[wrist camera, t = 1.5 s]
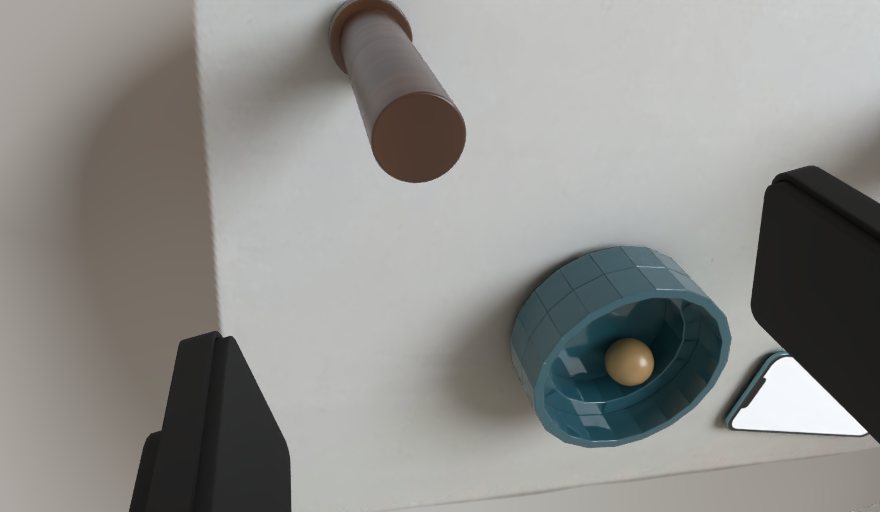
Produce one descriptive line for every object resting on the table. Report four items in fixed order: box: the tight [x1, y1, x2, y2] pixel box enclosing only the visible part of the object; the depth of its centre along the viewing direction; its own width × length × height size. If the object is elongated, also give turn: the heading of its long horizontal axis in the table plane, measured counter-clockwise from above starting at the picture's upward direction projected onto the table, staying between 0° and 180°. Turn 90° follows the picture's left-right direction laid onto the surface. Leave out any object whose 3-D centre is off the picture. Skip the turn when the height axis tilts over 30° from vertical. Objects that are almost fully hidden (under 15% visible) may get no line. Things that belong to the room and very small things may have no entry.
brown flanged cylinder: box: [329, 0, 466, 183], centre depth 23 cm, size 4×4×12 cm
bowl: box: [510, 246, 732, 448], centre depth 38 cm, size 12×12×5 cm
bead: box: [605, 338, 654, 386], centre depth 40 cm, size 3×3×3 cm
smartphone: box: [725, 351, 869, 437], centre depth 50 cm, size 8×1×16 cm
